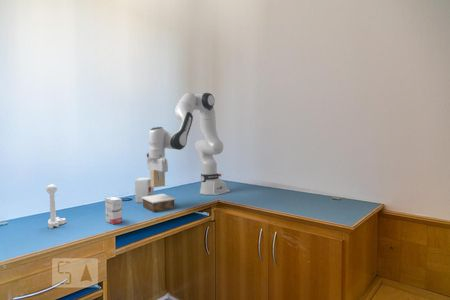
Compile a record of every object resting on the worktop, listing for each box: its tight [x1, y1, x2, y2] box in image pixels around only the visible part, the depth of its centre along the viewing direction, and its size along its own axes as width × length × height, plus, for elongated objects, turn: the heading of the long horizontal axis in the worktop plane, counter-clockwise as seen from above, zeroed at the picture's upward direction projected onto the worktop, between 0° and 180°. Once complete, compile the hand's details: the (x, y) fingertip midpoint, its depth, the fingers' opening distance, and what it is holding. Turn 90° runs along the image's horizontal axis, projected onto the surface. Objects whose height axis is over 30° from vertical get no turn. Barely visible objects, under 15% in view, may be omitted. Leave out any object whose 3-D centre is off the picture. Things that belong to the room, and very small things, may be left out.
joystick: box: [45, 184, 67, 230], centre depth 142 cm, size 11×8×20 cm
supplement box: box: [134, 177, 155, 204], centre depth 187 cm, size 9×9×15 cm
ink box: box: [104, 196, 123, 225], centre depth 146 cm, size 9×5×12 cm, turn 48°
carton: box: [149, 169, 166, 188], centre depth 171 cm, size 7×4×10 cm, turn 128°
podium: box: [142, 193, 176, 213], centre depth 172 cm, size 14×16×6 cm
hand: (157, 178), depth 171 cm, fingers closed on carton, 4 cm apart
